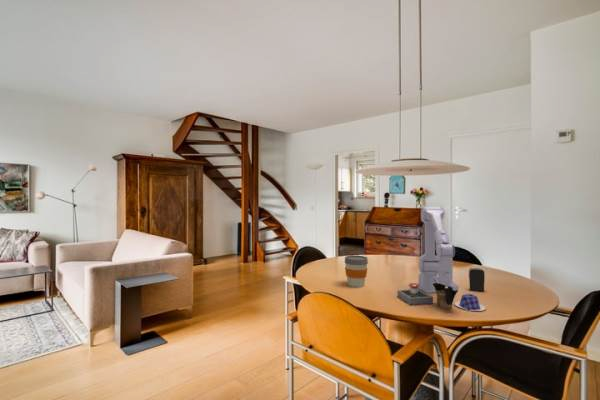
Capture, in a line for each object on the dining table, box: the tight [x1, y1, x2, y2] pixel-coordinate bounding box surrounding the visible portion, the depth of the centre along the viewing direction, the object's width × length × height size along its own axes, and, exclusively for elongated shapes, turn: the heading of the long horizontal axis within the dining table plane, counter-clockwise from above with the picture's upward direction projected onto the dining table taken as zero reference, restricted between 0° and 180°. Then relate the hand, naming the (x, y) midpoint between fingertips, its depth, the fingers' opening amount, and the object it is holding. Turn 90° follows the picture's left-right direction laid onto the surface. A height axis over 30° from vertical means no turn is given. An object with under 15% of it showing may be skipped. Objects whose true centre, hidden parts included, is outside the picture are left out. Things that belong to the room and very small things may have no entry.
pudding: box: [454, 293, 486, 312], centre depth 133 cm, size 12×12×5 cm
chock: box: [435, 290, 453, 310], centre depth 133 cm, size 5×6×7 cm
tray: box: [396, 288, 434, 306], centre depth 142 cm, size 12×11×3 cm
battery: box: [468, 267, 486, 292], centre depth 156 cm, size 7×4×11 cm, turn 70°
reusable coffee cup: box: [344, 255, 369, 288], centre depth 166 cm, size 13×13×15 cm
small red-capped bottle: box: [408, 282, 419, 298], centre depth 142 cm, size 4×4×7 cm
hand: (444, 301), depth 132 cm, fingers open, 5 cm apart
